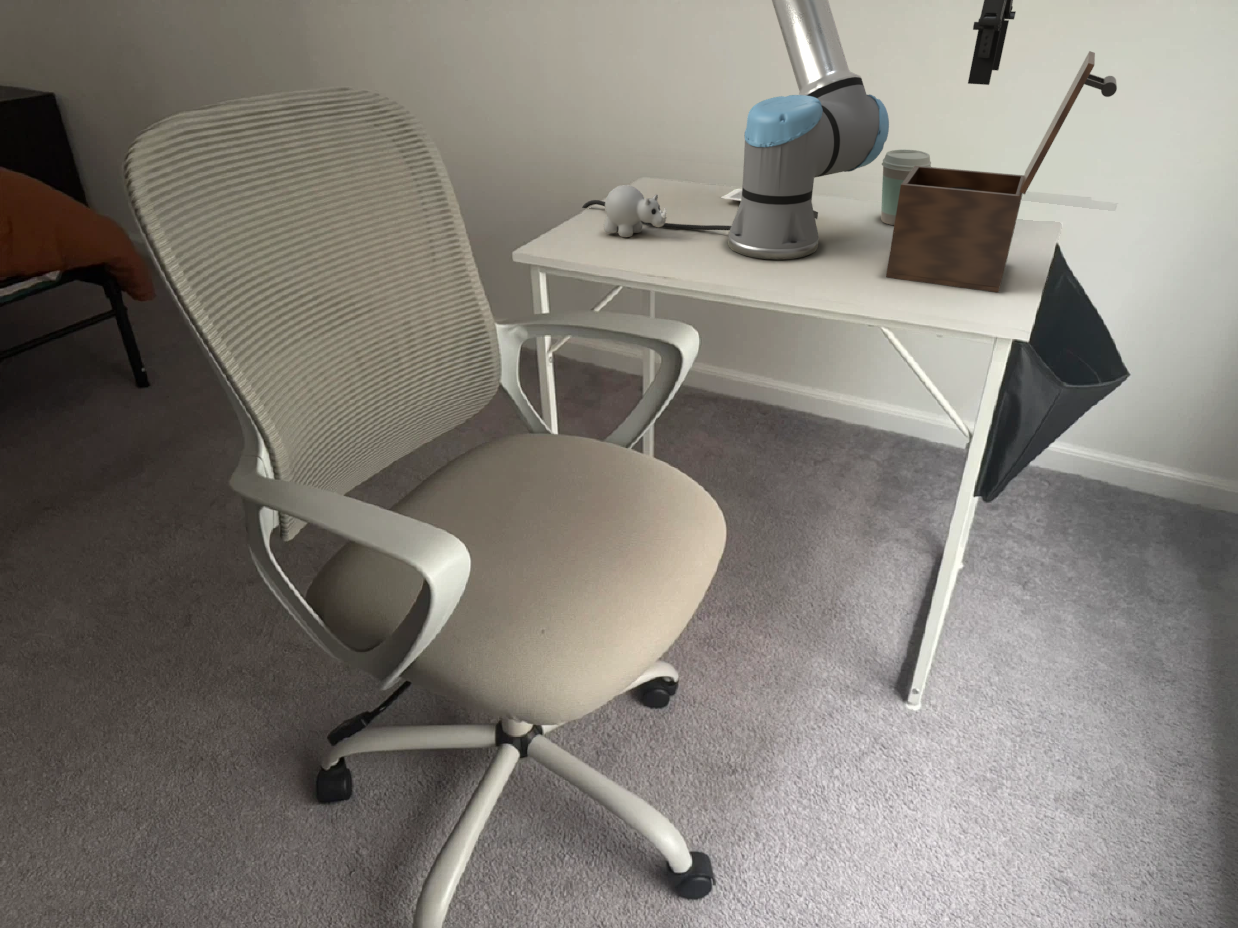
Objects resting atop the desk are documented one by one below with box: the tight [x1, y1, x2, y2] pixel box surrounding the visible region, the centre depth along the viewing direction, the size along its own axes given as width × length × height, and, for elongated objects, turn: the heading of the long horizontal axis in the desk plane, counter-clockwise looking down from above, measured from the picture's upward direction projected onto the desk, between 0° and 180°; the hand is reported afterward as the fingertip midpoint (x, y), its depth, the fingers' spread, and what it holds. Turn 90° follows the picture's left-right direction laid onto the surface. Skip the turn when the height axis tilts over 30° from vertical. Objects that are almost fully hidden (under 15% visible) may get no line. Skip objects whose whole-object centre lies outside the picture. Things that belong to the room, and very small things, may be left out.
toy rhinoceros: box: [603, 184, 668, 238], centre depth 151 cm, size 7×12×8 cm, turn 57°
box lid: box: [1020, 50, 1118, 195], centre depth 120 cm, size 17×13×5 cm
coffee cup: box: [880, 149, 932, 226], centre depth 156 cm, size 8×8×12 cm
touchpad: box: [720, 188, 742, 202], centre depth 169 cm, size 8×15×2 cm, turn 59°
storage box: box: [885, 166, 1025, 293], centre depth 132 cm, size 17×13×14 cm
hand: (983, 76), depth 121 cm, fingers open, 13 cm apart
